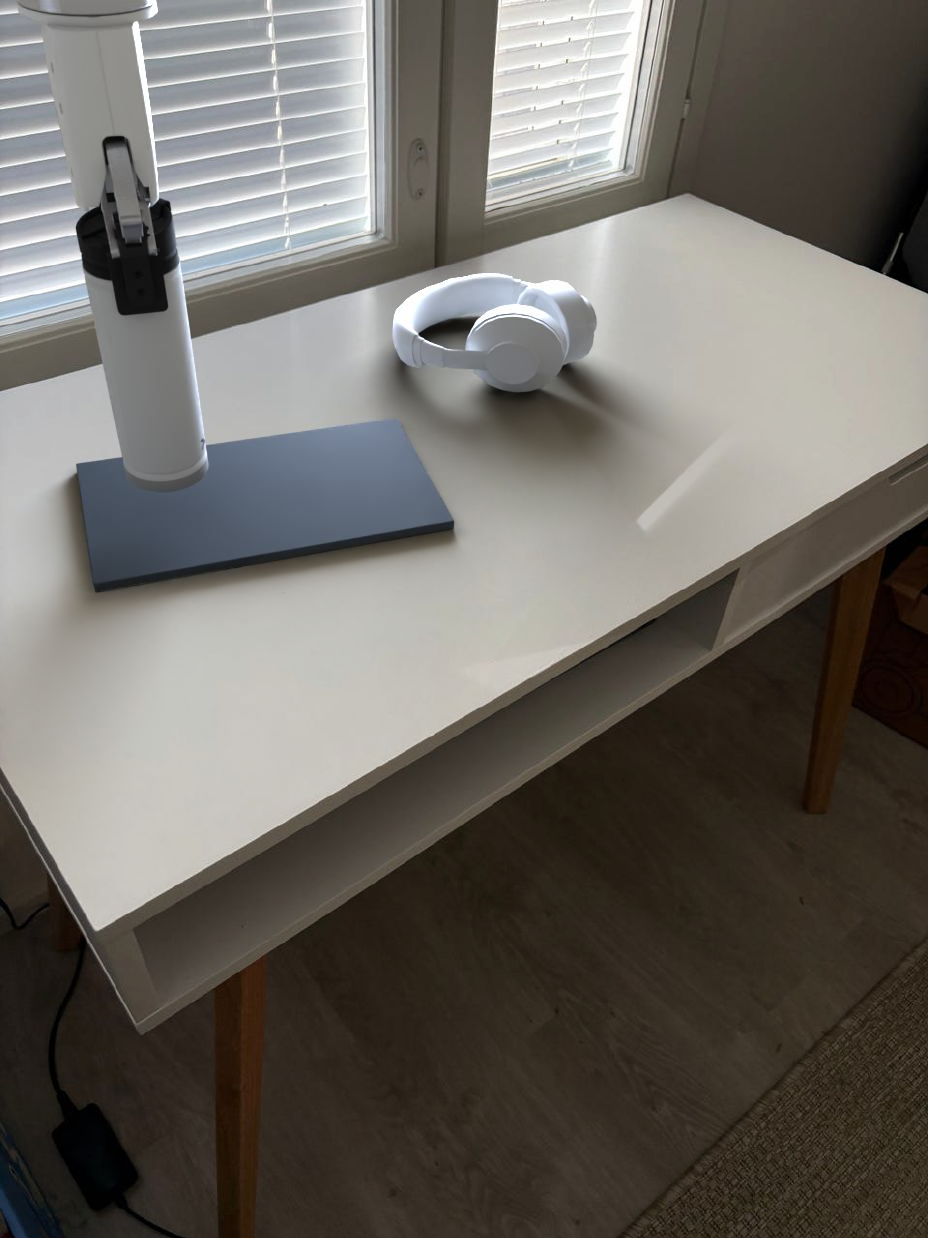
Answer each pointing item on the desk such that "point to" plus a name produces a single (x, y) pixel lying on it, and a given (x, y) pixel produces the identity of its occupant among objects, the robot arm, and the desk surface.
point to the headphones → (500, 328)
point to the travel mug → (147, 363)
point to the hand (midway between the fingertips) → (136, 285)
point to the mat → (260, 504)
